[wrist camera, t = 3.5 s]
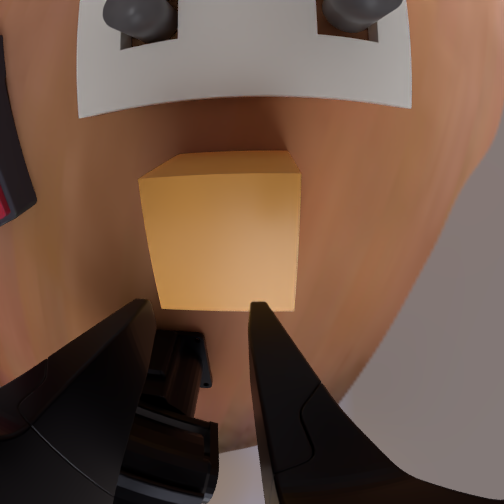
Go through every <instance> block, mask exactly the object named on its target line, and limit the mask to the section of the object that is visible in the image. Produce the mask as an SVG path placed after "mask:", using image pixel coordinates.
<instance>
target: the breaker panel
mask: <svg viewBox="0 0 504 504" xmlns="http://www.w3.org/2000/svg"><path fill="white" fill-rule="evenodd" d="M106 1H107V0H80V6H79V17H78V33H77V99H78V115H79V118H86V117H92V116H97V115H101V114H106V113H111V112H116V111H121V110H126V109H132V108H138V107H144V106H150V105H157V104H164V103H172V102H181V101H191V100H202V99H216V98H234V97H302V98H321V99H334V100H345V101H355V102H364V103H371V104H379V105H385V106H392V107H398V108H409V109H411V106H412V69H411V46H410V32H409V21H408V12H407V4H406V0H403V1H402V3H401V5H400V6H399V7H398V8H397V9H395V10H394V11H392V12H390V13H389V14H387V15H386V16H384V17H383V18H381V19H380V20H378V21H377V22H375V23H374V24H372V25H371V26H369V27H368V36H369V41H367V40H361V39H354V38H347V37H340V36H331V35H321V34H317V14H316V0H178V39H172V40H166V41H161V42H155V43H150V44H145V45H141V46H136V47H132V36H129V35H127V34H125V33H123V32H120V31H118V30H116V29H113V28H111V27H109V26H108V25H107V24H106V23H105V21H104V19H103V8H104V5H105V2H106Z"/></svg>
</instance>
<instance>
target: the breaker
mask: <svg viewBox="0 0 504 504" xmlns="http://www.w3.org/2000/svg"><path fill="white" fill-rule="evenodd" d="M402 1H403V0H323V3H322V11H323V14H324V16H325V18H326V19H327V21H328V22H329V23H330V24H331V25H332V26H334V27H335V28H337V29H339V30H341V31H344V32H348V33H357V32H361V31H363V30H365V29H366V28H368V27H369V26H371V25H372V24H374V23H375V22H377V21H378V20H380V19H381V18H383V17H384V16H386V15H387V14H389V13H390V12H392V11H394V10H395V9H397V8H398V7H399V6H400V5H401V3H402Z"/></svg>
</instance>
